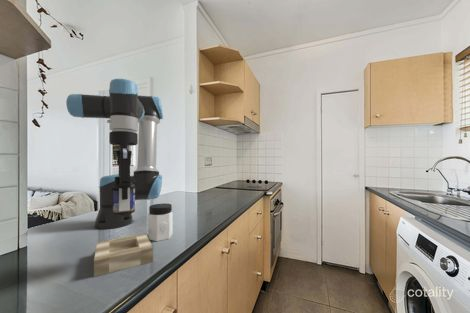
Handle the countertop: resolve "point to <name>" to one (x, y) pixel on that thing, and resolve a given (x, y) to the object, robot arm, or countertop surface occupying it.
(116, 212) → the pill bottle
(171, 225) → the jar
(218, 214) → the countertop surface
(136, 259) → the jig
